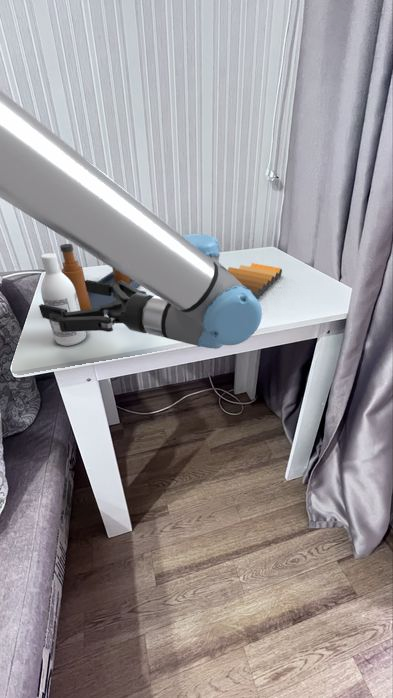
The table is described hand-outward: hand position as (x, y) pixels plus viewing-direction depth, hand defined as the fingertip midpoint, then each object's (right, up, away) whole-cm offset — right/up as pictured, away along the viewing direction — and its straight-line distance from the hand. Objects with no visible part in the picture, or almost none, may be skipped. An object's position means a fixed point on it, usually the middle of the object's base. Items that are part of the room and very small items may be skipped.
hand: (65, 297), depth 70 cm
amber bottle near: (-2, -1, +16) cm, 17 cm away
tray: (+1, +4, +25) cm, 26 cm away
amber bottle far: (+5, +10, +34) cm, 36 cm away
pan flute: (+39, +10, +34) cm, 53 cm away
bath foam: (-1, -9, +7) cm, 11 cm away
